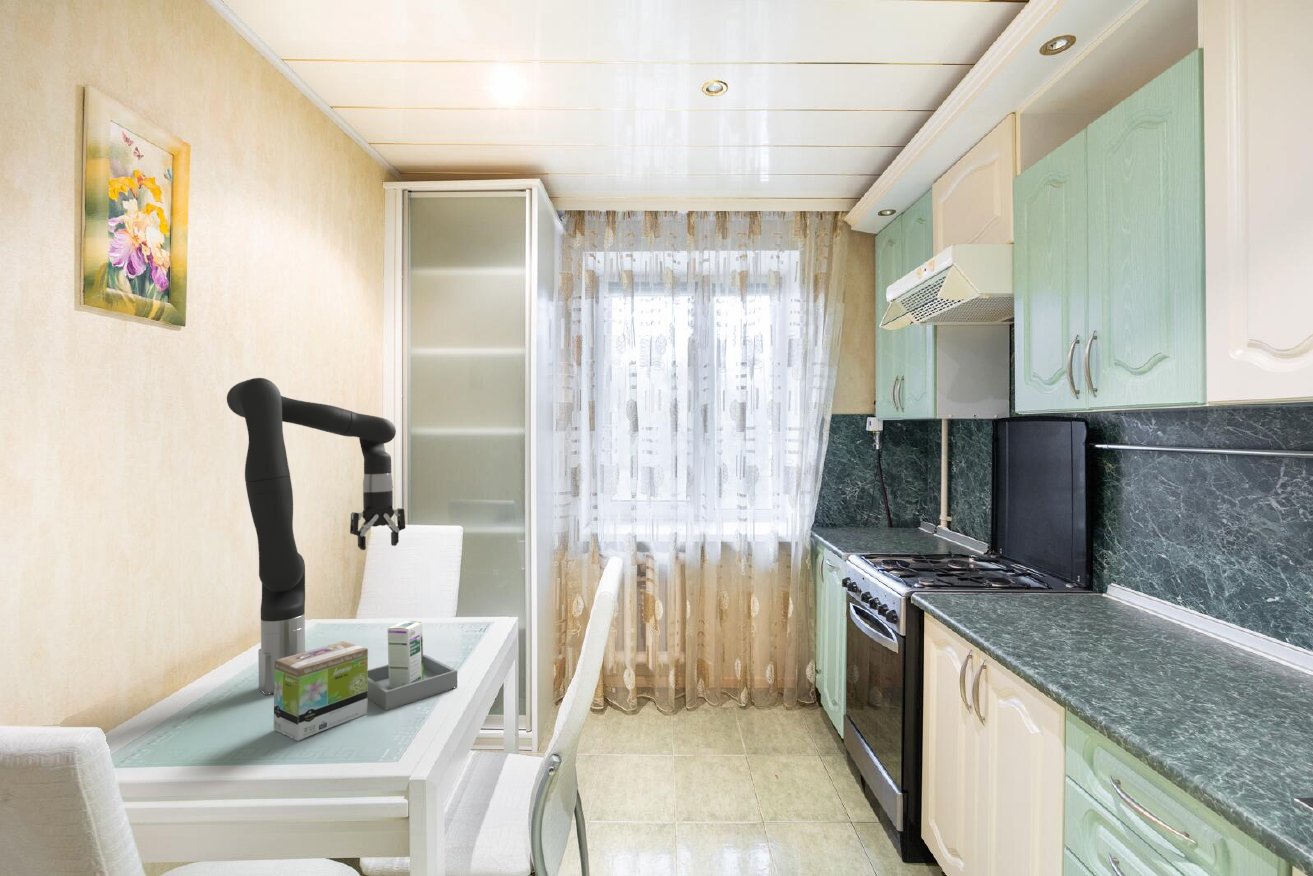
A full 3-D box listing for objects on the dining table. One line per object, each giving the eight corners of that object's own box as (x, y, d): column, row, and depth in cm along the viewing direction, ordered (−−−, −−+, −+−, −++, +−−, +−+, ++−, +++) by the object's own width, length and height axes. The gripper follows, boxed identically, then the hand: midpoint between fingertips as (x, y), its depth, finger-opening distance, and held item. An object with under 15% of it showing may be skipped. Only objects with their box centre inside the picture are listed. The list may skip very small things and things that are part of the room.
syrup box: (409, 690, 143) (409, 628, 143) (387, 688, 144) (387, 627, 144) (424, 680, 148) (423, 621, 149) (402, 679, 150) (402, 620, 150)
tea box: (298, 743, 120) (298, 668, 120) (272, 731, 126) (272, 659, 126) (369, 714, 133) (368, 646, 133) (343, 704, 138) (342, 639, 138)
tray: (386, 710, 134) (385, 692, 134) (356, 689, 146) (356, 673, 146) (457, 687, 147) (457, 670, 147) (425, 669, 158) (425, 654, 158)
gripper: (397, 487, 178) (398, 543, 178) (346, 490, 168) (346, 549, 168) (408, 488, 173) (409, 545, 173) (356, 492, 163) (357, 552, 163)
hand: (378, 547), depth 170 cm, fingers open, 8 cm apart
